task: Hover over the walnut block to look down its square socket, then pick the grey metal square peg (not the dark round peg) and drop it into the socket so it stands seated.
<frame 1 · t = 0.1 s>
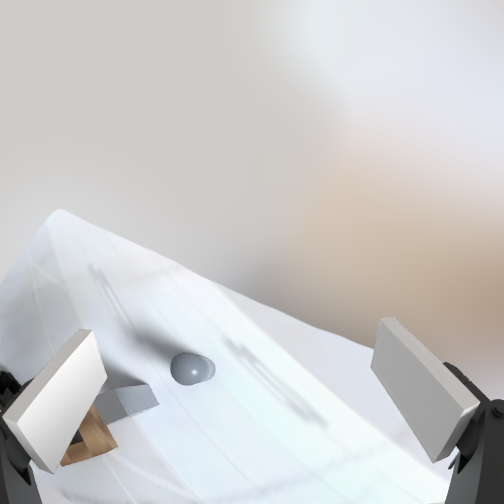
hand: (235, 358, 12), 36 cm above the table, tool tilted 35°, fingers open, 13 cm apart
socket block: (80, 427, 38), on the table
square peg: (144, 398, 42), on the table
end cap: (16, 396, 39), on the table
round peg: (203, 369, 44), on the table
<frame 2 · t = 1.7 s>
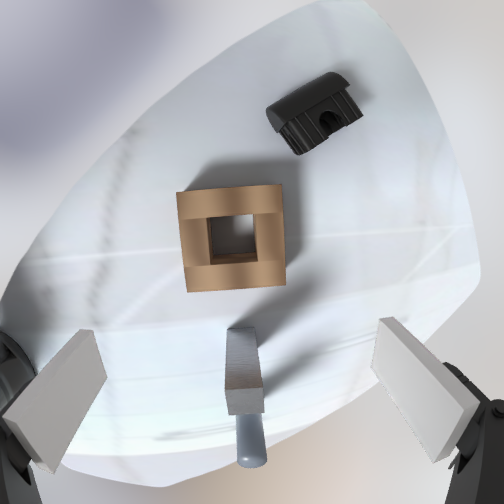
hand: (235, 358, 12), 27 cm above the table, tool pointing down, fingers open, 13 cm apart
socket block: (232, 233, 38), on the table
square peg: (241, 339, 42), on the table
end cap: (307, 118, 35), on the table
round peg: (247, 398, 44), on the table
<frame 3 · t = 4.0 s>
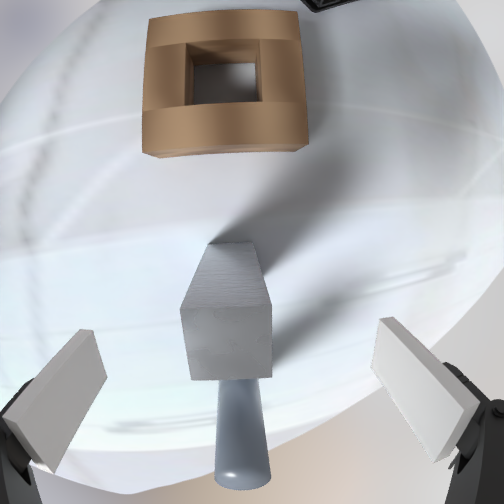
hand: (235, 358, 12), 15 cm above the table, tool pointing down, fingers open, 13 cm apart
socket block: (224, 89, 23), on the table
square peg: (231, 264, 26), on the table
round peg: (238, 371, 29), on the table
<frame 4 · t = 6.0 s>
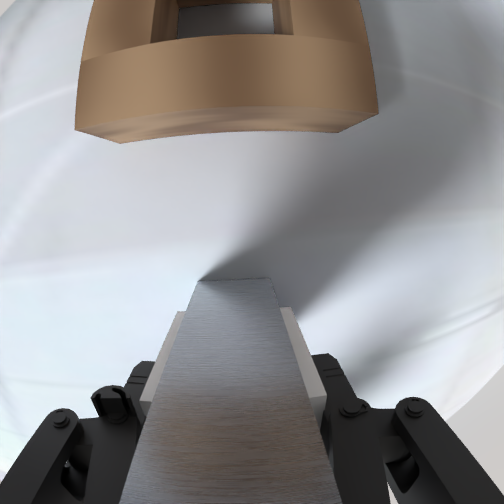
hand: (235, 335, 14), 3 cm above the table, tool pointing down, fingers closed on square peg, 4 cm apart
socket block: (225, 37, 13), on the table
square peg: (235, 312, 16), on the table, touching gripper
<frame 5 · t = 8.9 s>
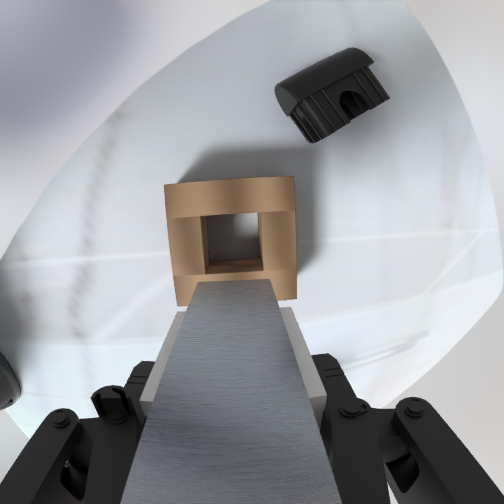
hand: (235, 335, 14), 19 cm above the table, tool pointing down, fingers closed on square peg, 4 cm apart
socket block: (233, 234, 32), on the table
square peg: (235, 313, 16), point 16 cm above the table, touching gripper
end cap: (322, 101, 29), on the table
when the fingers open (7 cm above the table, at t = 11.9 s): square peg drops 4 cm, resting in socket block.
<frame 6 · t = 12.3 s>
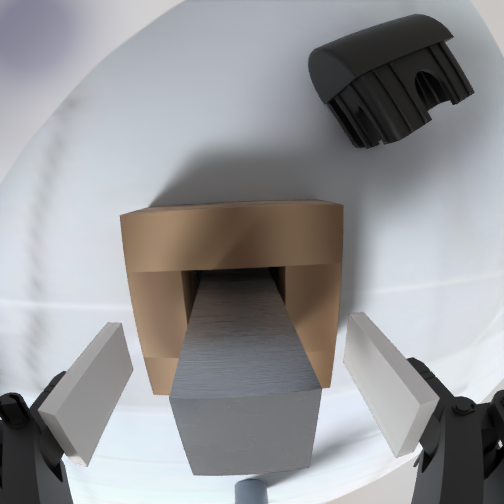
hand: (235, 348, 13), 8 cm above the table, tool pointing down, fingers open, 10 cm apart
socket block: (236, 286, 21), on the table
square peg: (236, 286, 21), resting in socket block
end cap: (372, 87, 18), on the table
round peg: (250, 486, 27), on the table
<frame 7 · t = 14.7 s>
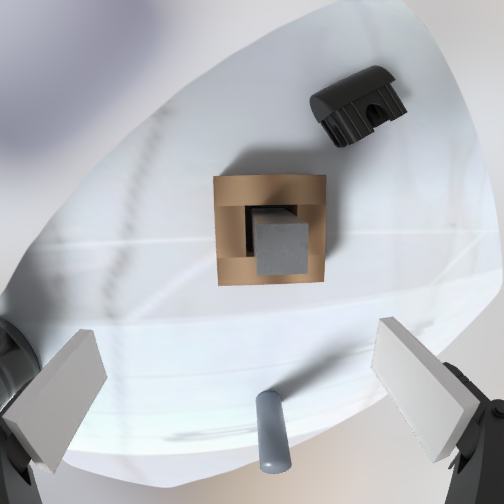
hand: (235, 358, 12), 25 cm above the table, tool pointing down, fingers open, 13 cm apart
socket block: (267, 224, 36), on the table
square peg: (267, 224, 36), resting in socket block
end cap: (348, 111, 33), on the table
round peg: (268, 399, 42), on the table
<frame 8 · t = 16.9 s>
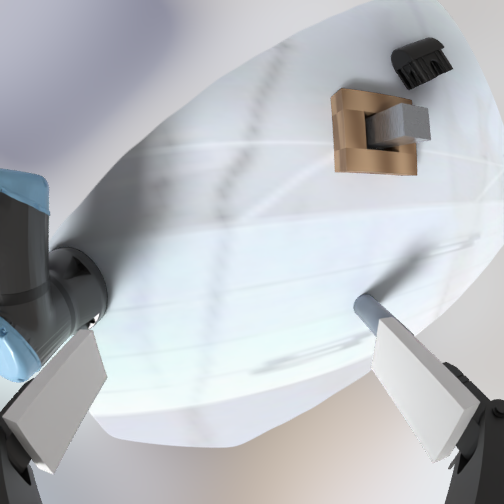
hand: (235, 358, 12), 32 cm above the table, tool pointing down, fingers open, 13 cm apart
socket block: (368, 136, 40), on the table
square peg: (368, 136, 40), resting in socket block
end cap: (411, 67, 37), on the table
round peg: (364, 304, 46), on the table
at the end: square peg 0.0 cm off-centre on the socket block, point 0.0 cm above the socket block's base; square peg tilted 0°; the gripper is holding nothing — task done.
